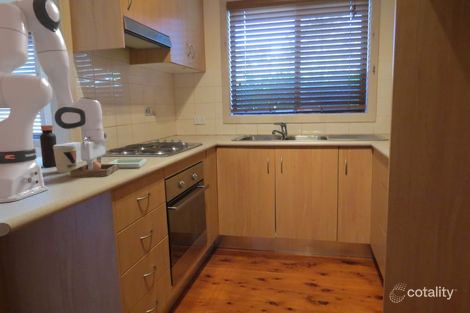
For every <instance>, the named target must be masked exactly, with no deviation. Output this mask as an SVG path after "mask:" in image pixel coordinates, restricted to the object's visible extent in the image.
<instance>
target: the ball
mask: <svg viewBox="0 0 470 313" xmlns="http://www.w3.org/2000/svg"><path fill="white" fill-rule="evenodd" d="M92 163H93V165H94V169H93V170H100V169H101V165H100V163H98V162H97V161H93V162H92Z"/></svg>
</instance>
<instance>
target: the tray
mask: <svg viewBox="0 0 470 313" xmlns="http://www.w3.org/2000/svg"><path fill="white" fill-rule="evenodd" d="M145 163H146V164H147V158H116V159H114V160H112V161H110V162H108V163H107V164H118V167H119V169H140V168H142V167H143V166H144V165H146V164H145ZM143 164H144V165H143ZM142 165H143V166H142ZM141 166H142V167H141ZM119 169H118V170H119Z"/></svg>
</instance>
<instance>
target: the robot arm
mask: <svg viewBox="0 0 470 313" xmlns="http://www.w3.org/2000/svg"><path fill="white" fill-rule="evenodd" d="M60 23H61V13H60V10H59V8H58V5H56V3H55V2H54V1H53V0H14V1H11V2H0V109H10V111H9V114H8V116H7V118H4V119H2V120H0V203H10V202H15V201H20V200H22V199H25V198H29V197H31V196H34V195H36V194H39V193H43V192H45V191H47V190H49V187H48V186H47V185H45V181H44V177H43V171H42V168H41V165H39V163H38V162H37V161H36V159H37V150H36V148H35V145H34V124H35V121H36V118H37V117H38V114H39V113H40V112H41V110H43V109H44V108H45V107H46V106H48V105H49V104H50V102H51V101H52V98H53V90H54V94H55V97H56V102H57V106H58V107H57V109H56V112H54V122H55V124H56V125H57V126H59V127H60V128H62V129H64V130H73V129H77V128H80V133H81V134H80V135H81V141H82V142H81V159H82V161H83V162H86V165H88V169H89V170H93V169H94V165H93V162H94V159H96V162H98V163H100V165H101V164H102V161H103V156H105V155H106V151H107V140H106V139H107V133H106V132H105V131H104V127H103V119H104V118H103V111H102V105H101V102H100V101H99V100H97V99H95V98H90V97H80V98H79V99H78V100H76V101H74V98H73V95H72V90H71V86H70V59H69V53H68V50H67V45H66V42H65V39H64V37H63V35H62V33H61V32H62V31H60V28H59V27H60ZM29 33H31V35H32V36H33V44H34V49H35V53H36V57H37V60H38V63H39V65H40V67H41V70H42V71H43V73H44V74H45V76H46V77H47V78H48V79H49V81H48V80H47V79H46V78H45V77H43V76H39V75H32V74H12V73H13V72H14V71H15V70H17V69H19V68H22V67H23V66H25V65H26V63H27V62H28V60H29ZM50 83H51V84H50ZM51 85H52V86H51ZM52 87H53V88H52Z"/></svg>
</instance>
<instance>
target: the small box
mask: <svg viewBox="0 0 470 313" xmlns="http://www.w3.org/2000/svg"><path fill="white" fill-rule="evenodd" d="M81 143H82V142H77V141H73V142H67V143H66V142H65V143H64V144H76V164H79V163H83V162H84V161H82V159H81Z"/></svg>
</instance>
